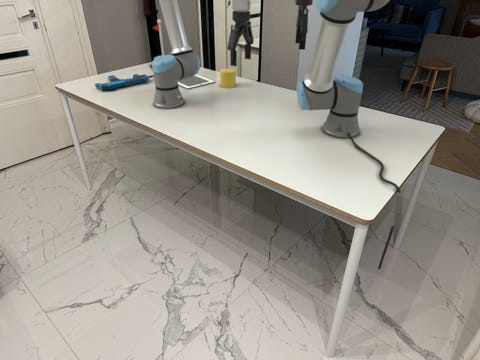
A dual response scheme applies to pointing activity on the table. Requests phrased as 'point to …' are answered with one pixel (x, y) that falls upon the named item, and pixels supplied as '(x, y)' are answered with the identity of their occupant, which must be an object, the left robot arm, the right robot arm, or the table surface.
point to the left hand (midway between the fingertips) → (240, 62)
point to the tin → (228, 78)
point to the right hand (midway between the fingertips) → (299, 46)
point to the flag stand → (158, 27)
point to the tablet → (194, 81)
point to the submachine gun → (122, 81)
